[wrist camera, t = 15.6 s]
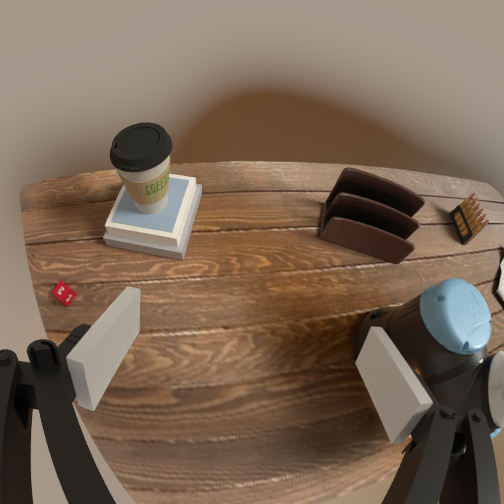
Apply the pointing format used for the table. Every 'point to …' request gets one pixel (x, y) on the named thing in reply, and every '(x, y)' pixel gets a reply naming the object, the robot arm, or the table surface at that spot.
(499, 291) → the open book
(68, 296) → the red letter cube
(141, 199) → the coffee cup
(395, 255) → the letter holder
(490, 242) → the table surface
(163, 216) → the plinth
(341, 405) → the table surface
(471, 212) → the ammunition clip
